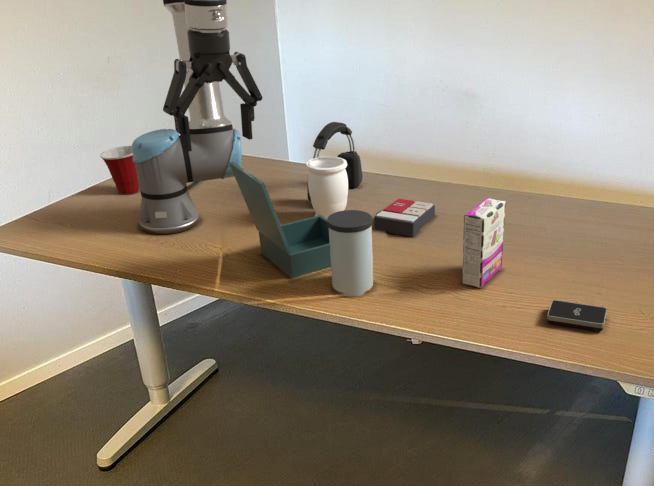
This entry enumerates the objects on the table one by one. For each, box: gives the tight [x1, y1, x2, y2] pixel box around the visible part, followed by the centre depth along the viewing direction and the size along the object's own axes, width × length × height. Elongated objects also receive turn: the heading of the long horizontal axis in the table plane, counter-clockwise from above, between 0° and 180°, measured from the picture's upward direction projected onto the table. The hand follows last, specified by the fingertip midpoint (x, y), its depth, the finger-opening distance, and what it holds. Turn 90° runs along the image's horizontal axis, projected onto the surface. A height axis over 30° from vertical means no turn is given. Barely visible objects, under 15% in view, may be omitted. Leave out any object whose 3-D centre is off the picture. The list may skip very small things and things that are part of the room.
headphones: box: [306, 121, 363, 204], centre depth 201 cm, size 22×6×20 cm, turn 152°
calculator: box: [373, 198, 436, 237], centre depth 187 cm, size 11×4×15 cm
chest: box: [258, 215, 331, 279], centre depth 169 cm, size 17×17×6 cm
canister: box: [327, 209, 374, 298], centre depth 154 cm, size 9×9×16 cm
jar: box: [306, 156, 349, 219], centre depth 188 cm, size 11×10×15 cm
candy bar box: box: [461, 197, 507, 289], centre depth 157 cm, size 11×5×16 cm, turn 148°
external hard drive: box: [546, 299, 608, 332], centre depth 145 cm, size 7×11×2 cm, turn 70°
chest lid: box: [229, 162, 291, 254], centre depth 158 cm, size 17×17×1 cm
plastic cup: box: [99, 145, 140, 195], centre depth 208 cm, size 11×11×12 cm
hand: (217, 143), depth 145 cm, fingers open, 13 cm apart
